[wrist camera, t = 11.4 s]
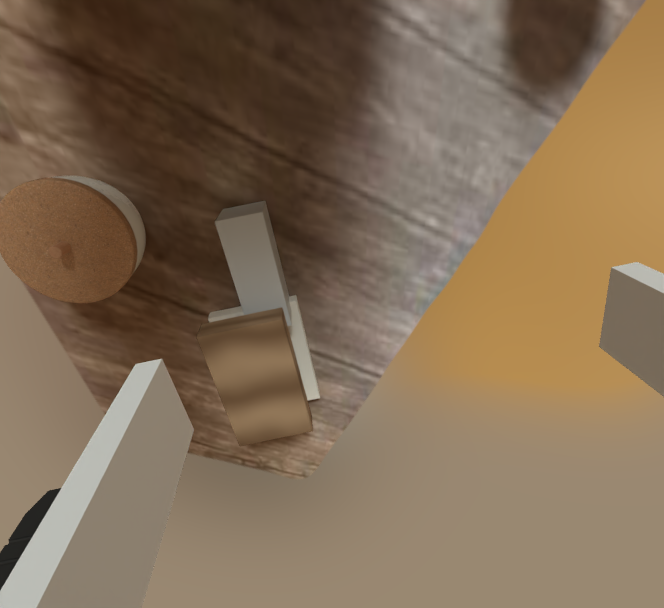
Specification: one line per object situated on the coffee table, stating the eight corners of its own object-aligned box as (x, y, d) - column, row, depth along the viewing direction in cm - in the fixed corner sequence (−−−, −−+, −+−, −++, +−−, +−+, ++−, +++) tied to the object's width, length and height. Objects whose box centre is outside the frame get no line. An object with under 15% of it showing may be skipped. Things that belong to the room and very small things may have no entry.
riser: (222, 209, 41) (214, 221, 36) (265, 200, 41) (262, 212, 36) (253, 311, 46) (250, 333, 41) (291, 304, 46) (291, 325, 41)
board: (201, 323, 39) (196, 337, 37) (282, 307, 39) (282, 319, 37) (242, 429, 45) (239, 446, 43) (311, 415, 45) (312, 431, 43)
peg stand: (210, 312, 45) (198, 342, 40) (296, 294, 46) (297, 322, 40) (243, 406, 52) (238, 443, 46) (319, 390, 52) (323, 426, 46)
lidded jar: (70, 141, 37) (6, 151, 28) (179, 209, 40) (150, 236, 32) (28, 235, 40) (-41, 269, 31) (132, 290, 43) (94, 333, 35)
